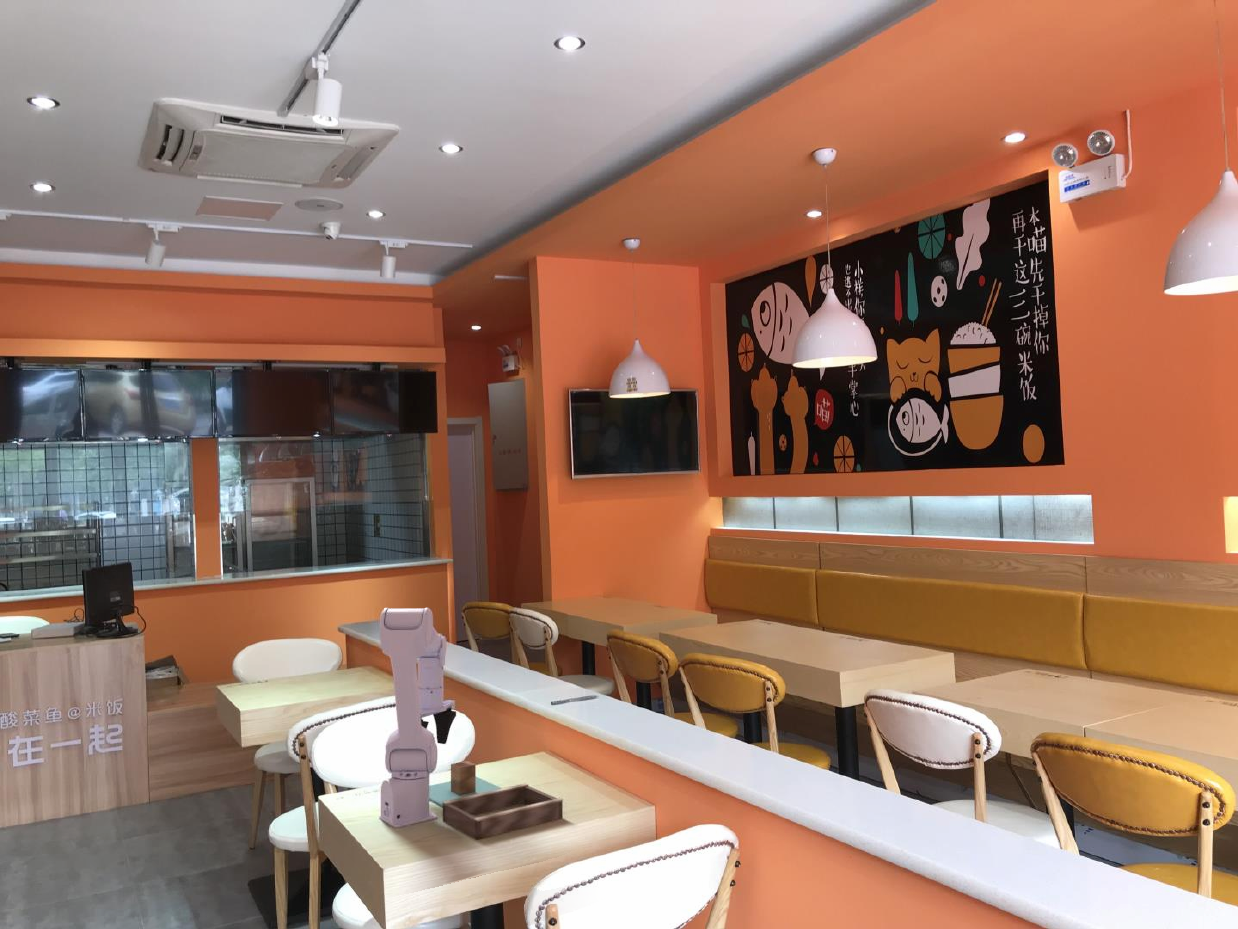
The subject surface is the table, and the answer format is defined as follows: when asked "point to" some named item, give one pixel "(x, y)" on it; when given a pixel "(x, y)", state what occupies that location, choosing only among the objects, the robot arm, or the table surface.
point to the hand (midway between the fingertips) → (430, 747)
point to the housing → (505, 821)
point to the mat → (443, 793)
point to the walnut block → (463, 778)
